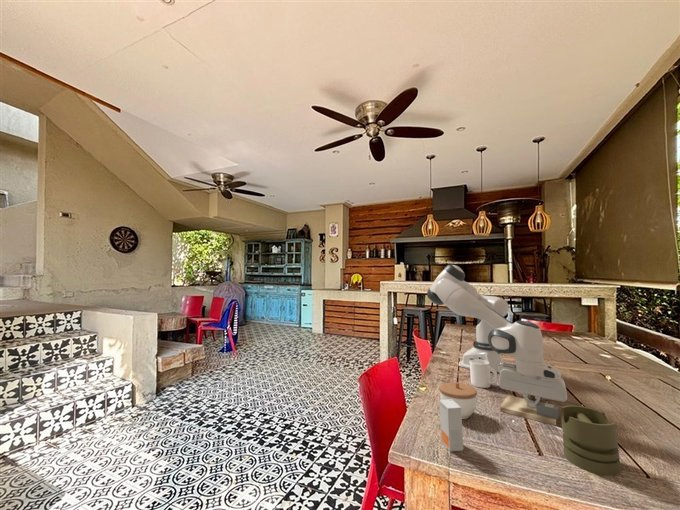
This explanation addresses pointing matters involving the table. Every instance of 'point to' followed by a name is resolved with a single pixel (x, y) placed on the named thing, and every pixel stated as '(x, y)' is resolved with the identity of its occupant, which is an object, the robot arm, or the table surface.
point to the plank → (526, 410)
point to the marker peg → (535, 399)
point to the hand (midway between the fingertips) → (532, 407)
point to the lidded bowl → (460, 396)
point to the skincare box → (451, 425)
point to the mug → (481, 373)
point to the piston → (590, 440)
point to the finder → (548, 410)
